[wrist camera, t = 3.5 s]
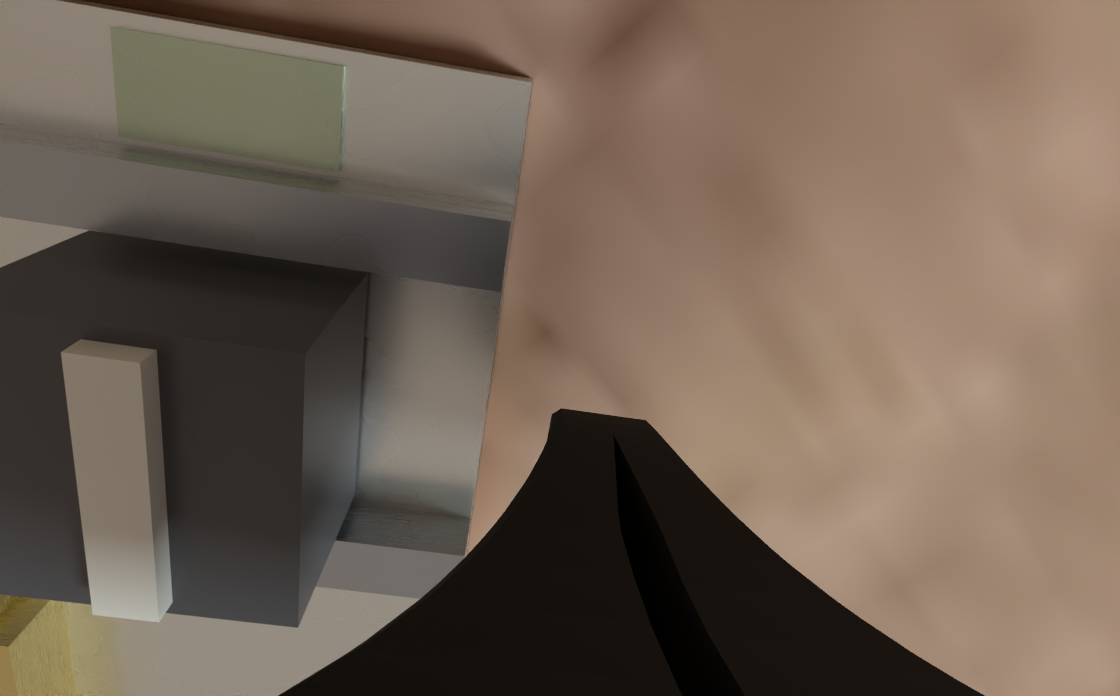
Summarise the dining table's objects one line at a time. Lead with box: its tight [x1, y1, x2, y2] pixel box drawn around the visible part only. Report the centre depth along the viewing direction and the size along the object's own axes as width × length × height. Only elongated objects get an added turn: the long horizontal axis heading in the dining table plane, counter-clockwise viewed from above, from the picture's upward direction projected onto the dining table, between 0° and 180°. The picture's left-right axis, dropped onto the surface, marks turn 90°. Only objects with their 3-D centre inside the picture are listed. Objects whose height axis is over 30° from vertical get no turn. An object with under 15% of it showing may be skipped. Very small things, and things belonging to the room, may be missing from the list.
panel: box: [0, 0, 533, 696], centre depth 13 cm, size 14×18×2 cm
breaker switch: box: [0, 230, 368, 628], centre depth 10 cm, size 4×4×3 cm
